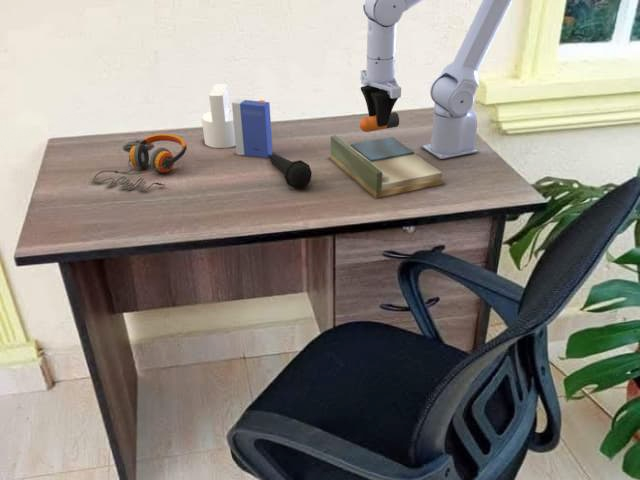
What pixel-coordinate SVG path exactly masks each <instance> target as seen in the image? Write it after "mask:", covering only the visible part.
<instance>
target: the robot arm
mask: <svg viewBox="0 0 640 480" xmlns="http://www.w3.org/2000/svg"><path fill="white" fill-rule="evenodd" d="M422 1H423V0H365V2H364V4H363V5H362V10H363V13H364V15H365V16H366V18H367V32H366V33H367V34H366V36H367V37H366V69H362V70H360V84H361V85H363V86H360V91H361V93H362V95H363V97H364V100H365V102H366V103H365V104H366V108H367V113H368V117H371V116H376V121H377V125H378V126H379V127H381V126H387V125H388V121H389V118H390V115H391V113H392V112H393V108H394V106H395V104H396V103H397V101H398V99H399V98H402V87H401V86H399V84H398V82H397V80H396V78H395V73H396V71H395V70H396V69H395V67H396V49H397V45H396V44H397V27H398V25H397V24H398V22H399V21H400V20H401V18H402V16H403V13H405V12H406V11H408V10H410V9H411V8H413V7H414V6H416V5H417V4H419V3H421V2H422ZM513 1H514V0H482V1H481V2H480V5H479V7H478V8H477V9H478V10H476V13H475V15H474V18H473V20H472V22H471V24H470V26H469V28H468V30H467V32H466V34H465V36H464V39H463V41H462V43H461V45H460V47H459V49H458V51H457V54H456V55H455V57H454V60H453V61H452V62H450V63H449V64H447V65H446V66H445V67H444V68H443V70H442V72H441V73H440V74H439V76H438V77H437V78H436V79H435V80H434V81H433V82H432V84H431V86H430V90H429V94H430V98H431V100H432V101H433V102H434V104H433V105H434V106H433V115H432V128H431V137H430V139H431V140H430V143H429V144H423V145H422V148H423V149H424V150H426V151H428V152H429V153H431V155H434V156H435V157H437V158H438V159H440V160H444V159H448V158H454V157H459V156H465V155H469V154H474V153H477V149H476V141H477V134H478V133H477V132H478V123H479V121H478V116H477V114H476V112H475V110H473V109H472V108H473V107H474V104H475V100H476V94H477V91H478V88H479V85H480V83H479V78H478V71H479V69H480V67H481V65H482V63H483V61H484V59H485V57H486V55H487V53H488V51H489V49H490V47H491V45H492V43H493V41H494V39H495V37H496V35H497V33H498V30H499V29H500V27H501V25H502V22H503V21H504V18H505V17H506V14H507V13H508V11H509V9H510V6H511V5H512V2H513Z"/></svg>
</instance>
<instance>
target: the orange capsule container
mask: <svg viewBox="0 0 640 480" xmlns="http://www.w3.org/2000/svg"><path fill="white" fill-rule="evenodd" d="M399 125H400V117H399V114H398V113H397V112H396V111H391V115H390V118H389V121H388V125H387V126H381V127H379V126H378V125H377V121H376V116H371V117H369V116H366V117H363V118H362V119H361V120H360V121H359V129H360V130H361V131H363V133H364V132H365V133H370V132H375V131H380V130H381V131H382V130H388V129H393V128H397V127H399Z"/></svg>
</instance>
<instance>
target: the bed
mask: <svg viewBox="0 0 640 480" xmlns="http://www.w3.org/2000/svg"><path fill="white" fill-rule="evenodd" d="M330 160H331V161H333V163H335V164H336V165H337V166H338V167H340V168H341V170H343V171H344V172H345V173H346V174H347V175H348V176H350V177H351V179H353V180H354V181H356V182H357V183H358V184H359V185H360V186H362V187H363V188H364V189H365V190H366V191H367V192H369V193H370V194H371V195H372V196H373V197H374V198H375V199H377V198H384V197H388V196H393V195H398V194H402V193H407V192H412V191H416V190H422V189H427V188H432V187H436V186H440V185H441V186H442V185H443V182H444V178H443V172H442V171H441V170H439V169H438V168H436V167H435V166H433V165H432V164H431V163H429V162H427V161H426V160H424V159H423V158H422V157H420V156H418V155H417V154H416V153H415V151H414V150H412V149H411V148H409V147H408V146H407V145H405V144H403V143H402V142H401V141H399V140H398V139H396V138H395V137H393V136H390V137H389V136H388V137H383V138H377V139H372V140H366V141H361V142H355V143H350V145H349V144H348V143H346V142H345V141H343V140H342V139H340V138H339V137H338V136H337V135H331V136H330Z"/></svg>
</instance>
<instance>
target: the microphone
mask: <svg viewBox="0 0 640 480" xmlns="http://www.w3.org/2000/svg"><path fill="white" fill-rule="evenodd" d="M268 158H269V161H270V163H271V165H273V166H274V167H275V168H276V169H277V170H278V171H279V172H281V174H283V177H284V179H285V182H286V184H287V185H288V186H289V187H291V188H292V189H294V190H298V189H304V188H305V187H307V185H308V184H309V183H310V182H311V179H312V175H313V172H312V169H311V167H310V164H308V163H306V161H305V162H304V161H303V160H300V159H299V160H294V161H291V160H289V159H287V158H285V157H282V156H281V155H279V154H274V153H273V154H272V155H268Z"/></svg>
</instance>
